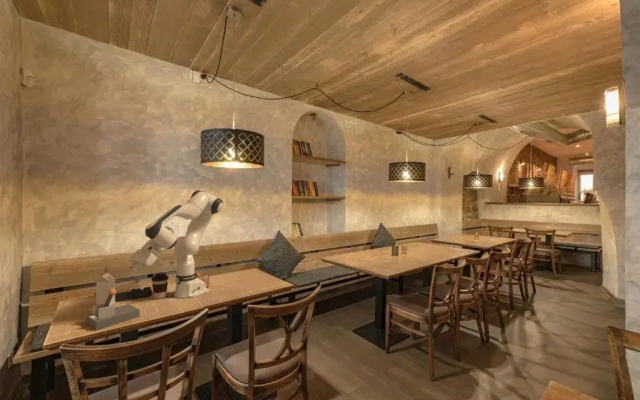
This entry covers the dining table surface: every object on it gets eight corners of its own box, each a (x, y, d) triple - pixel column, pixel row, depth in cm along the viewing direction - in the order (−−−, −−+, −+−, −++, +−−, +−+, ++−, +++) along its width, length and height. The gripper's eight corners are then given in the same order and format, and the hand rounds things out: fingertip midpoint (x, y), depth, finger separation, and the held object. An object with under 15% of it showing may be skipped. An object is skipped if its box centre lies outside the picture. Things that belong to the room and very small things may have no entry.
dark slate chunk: (113, 296, 195) (113, 289, 195) (151, 291, 207) (151, 284, 207) (112, 303, 182) (112, 296, 182) (152, 297, 194) (152, 290, 194)
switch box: (128, 310, 170) (128, 295, 170) (139, 316, 162) (139, 300, 162) (86, 322, 154) (86, 305, 154) (96, 330, 146) (96, 312, 146)
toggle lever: (104, 312, 156) (115, 288, 160) (107, 314, 154) (117, 290, 158) (98, 312, 154) (109, 288, 157) (101, 313, 152) (111, 289, 155)
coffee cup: (161, 300, 187) (161, 277, 187) (147, 299, 189) (147, 276, 189) (171, 295, 197) (172, 273, 196) (159, 294, 199) (159, 272, 198)
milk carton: (96, 307, 175) (96, 275, 174) (102, 303, 182) (102, 272, 181) (109, 306, 176) (109, 275, 176) (115, 302, 183) (115, 272, 183)
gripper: (137, 244, 177) (119, 263, 169) (154, 248, 165) (135, 269, 157) (145, 250, 180) (127, 269, 173) (162, 255, 169) (144, 275, 161)
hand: (131, 269), depth 165 cm, fingers open, 3 cm apart
